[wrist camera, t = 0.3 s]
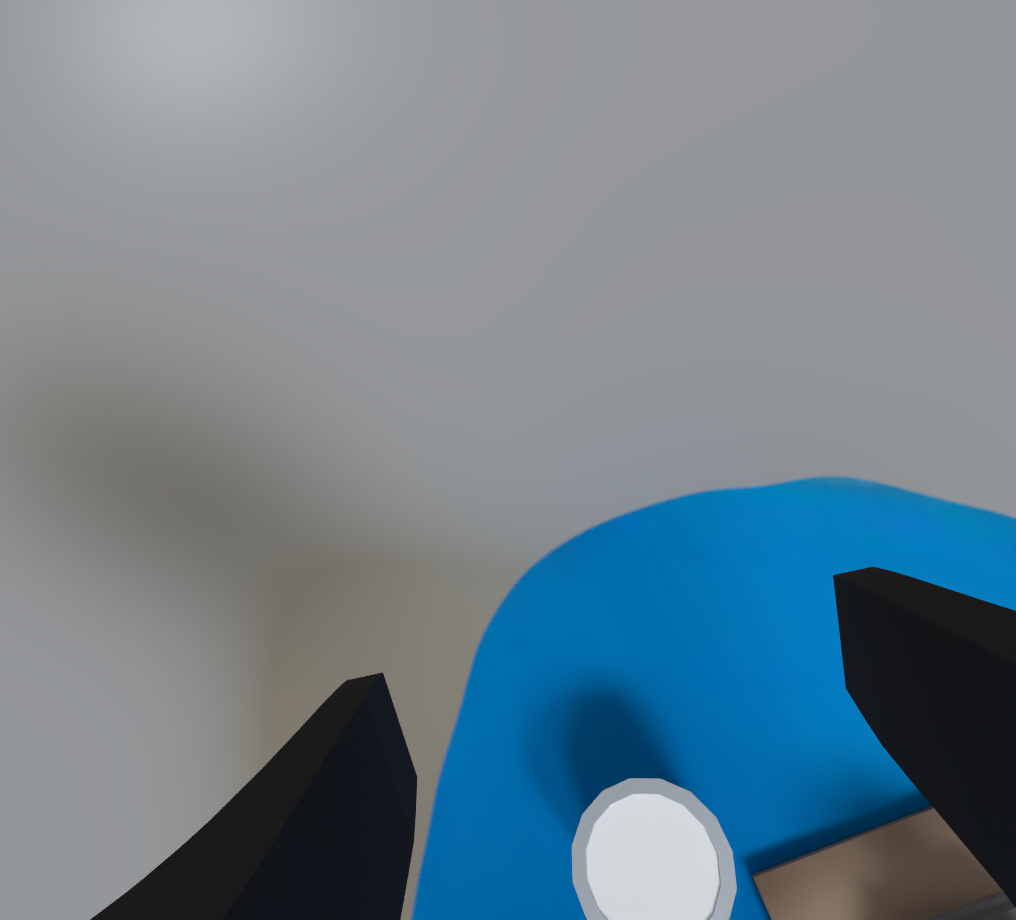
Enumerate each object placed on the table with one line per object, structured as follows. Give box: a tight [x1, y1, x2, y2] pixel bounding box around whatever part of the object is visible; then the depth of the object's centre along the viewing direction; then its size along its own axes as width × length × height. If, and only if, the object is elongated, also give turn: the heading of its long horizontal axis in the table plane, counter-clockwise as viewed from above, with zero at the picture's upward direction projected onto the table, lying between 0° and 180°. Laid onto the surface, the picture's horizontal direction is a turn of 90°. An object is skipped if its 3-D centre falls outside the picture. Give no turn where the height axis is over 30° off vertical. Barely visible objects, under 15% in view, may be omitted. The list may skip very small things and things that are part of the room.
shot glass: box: [572, 778, 737, 920], centre depth 31 cm, size 7×7×7 cm
